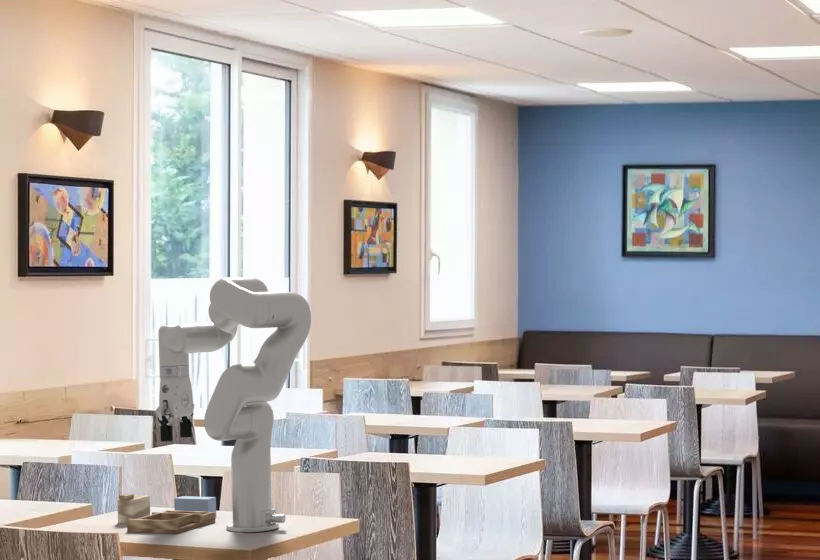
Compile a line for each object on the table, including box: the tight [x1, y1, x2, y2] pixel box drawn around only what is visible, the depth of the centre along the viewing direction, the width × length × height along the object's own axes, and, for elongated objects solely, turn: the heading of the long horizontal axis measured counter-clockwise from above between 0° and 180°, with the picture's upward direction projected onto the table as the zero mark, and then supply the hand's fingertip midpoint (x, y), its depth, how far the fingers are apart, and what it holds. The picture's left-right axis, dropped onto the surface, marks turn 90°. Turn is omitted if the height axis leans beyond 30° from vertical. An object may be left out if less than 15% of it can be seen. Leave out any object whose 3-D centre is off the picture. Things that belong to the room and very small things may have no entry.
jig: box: [126, 509, 216, 535], centre depth 354 cm, size 14×18×3 cm
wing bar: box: [173, 495, 217, 517], centre depth 370 cm, size 10×4×5 cm, turn 67°
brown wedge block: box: [116, 493, 151, 525], centre depth 365 cm, size 4×9×7 cm, turn 157°
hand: (176, 439), depth 370 cm, fingers open, 9 cm apart
